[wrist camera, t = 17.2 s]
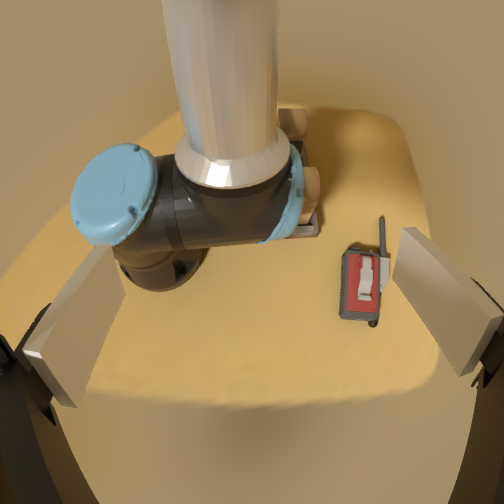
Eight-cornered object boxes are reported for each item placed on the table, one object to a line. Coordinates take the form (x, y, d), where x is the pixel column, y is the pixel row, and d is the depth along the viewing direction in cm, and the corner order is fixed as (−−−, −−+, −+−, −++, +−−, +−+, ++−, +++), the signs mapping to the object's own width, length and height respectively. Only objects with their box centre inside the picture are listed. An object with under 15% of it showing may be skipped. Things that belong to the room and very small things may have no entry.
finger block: (282, 227, 50) (292, 192, 38) (279, 196, 51) (287, 155, 39) (306, 226, 50) (322, 191, 38) (301, 195, 52) (315, 155, 40)
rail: (270, 239, 51) (278, 203, 37) (261, 144, 56) (265, 94, 43) (316, 237, 51) (338, 201, 38) (301, 143, 57) (313, 95, 43)
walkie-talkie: (383, 328, 47) (383, 221, 52) (394, 327, 42) (393, 211, 48) (336, 325, 47) (340, 214, 53) (344, 324, 43) (348, 204, 48)
